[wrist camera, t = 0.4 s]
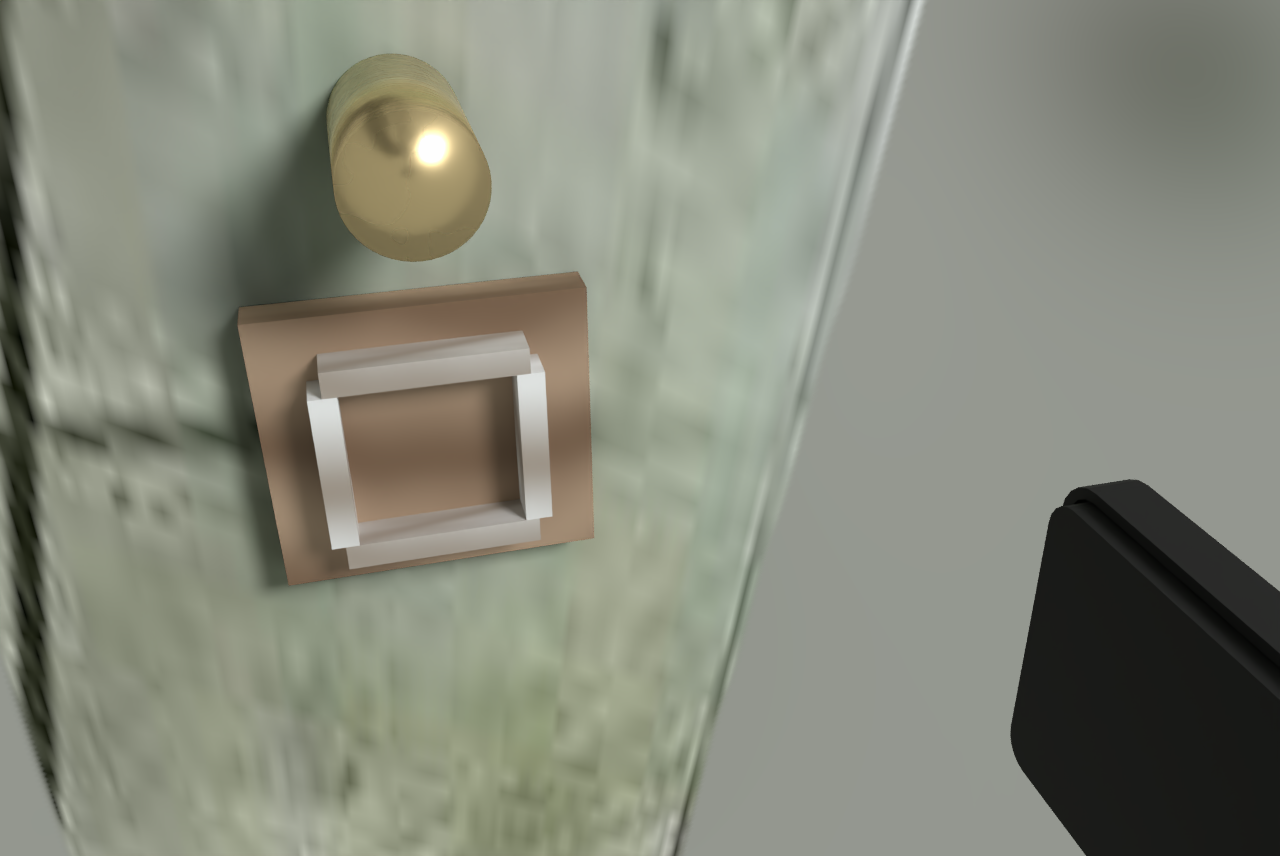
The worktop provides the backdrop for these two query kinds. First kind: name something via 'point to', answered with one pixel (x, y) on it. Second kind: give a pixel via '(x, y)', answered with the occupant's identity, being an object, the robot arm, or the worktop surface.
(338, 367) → the fitting board
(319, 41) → the worktop surface
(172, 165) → the worktop surface
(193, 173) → the worktop surface
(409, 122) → the cylinder
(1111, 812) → the robot arm
